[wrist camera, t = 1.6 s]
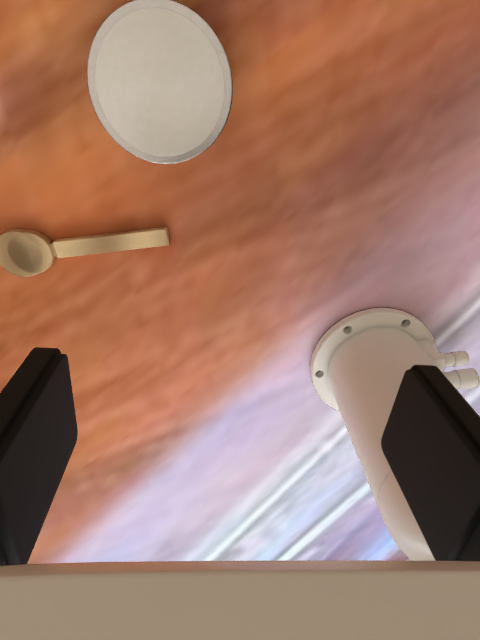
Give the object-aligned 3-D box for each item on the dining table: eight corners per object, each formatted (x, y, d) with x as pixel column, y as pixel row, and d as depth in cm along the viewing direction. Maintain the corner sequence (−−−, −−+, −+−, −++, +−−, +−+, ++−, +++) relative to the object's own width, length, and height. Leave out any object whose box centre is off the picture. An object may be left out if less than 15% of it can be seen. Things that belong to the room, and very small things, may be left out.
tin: (223, 4, 27) (223, -14, 23) (237, 150, 31) (240, 156, 27) (89, 21, 27) (65, 5, 23) (122, 164, 31) (107, 172, 27)
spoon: (164, 211, 33) (162, 213, 32) (173, 256, 35) (171, 260, 34) (-9, 231, 33) (-15, 234, 32) (9, 275, 35) (4, 279, 34)
